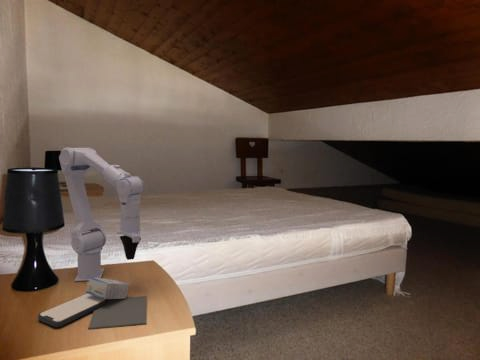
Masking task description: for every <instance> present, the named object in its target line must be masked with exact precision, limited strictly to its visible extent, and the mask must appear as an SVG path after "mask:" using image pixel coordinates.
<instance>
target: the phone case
mask: <svg viewBox="0 0 480 360" xmlns="http://www.w3.org/2000/svg"><path fill="white" fill-rule="evenodd" d="M106 304H107V299H104V298H100V297H97V296H94V295H91V294H87V293H85V294H82V295H80V296H78V297H75V298H73V299H71V300H68V301H65V302H63V303H61V304H58V305H56V306H54V307H51V308H49V309H46V310H45V311H43V312H40V313H38V315H37V320H38V321H40V322H42V323H45V324H47V325H49V326H52V327H54V328H59V327H62V326H64V325H66V324H68V323H70V322H73V321H74V320H76V319H79V318H81V317H83V316H85V315H87V314H90V313H91V312H93V311H94V310H95V309H98V308H100V307H102V306H104V305H106Z"/></svg>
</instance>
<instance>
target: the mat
mask: <svg viewBox="0 0 480 360" xmlns="http://www.w3.org/2000/svg"><path fill="white" fill-rule="evenodd" d="M147 302H148V301H147V295H143V296H142V295H141V296H140V295H139V296H127V297H126V298H125V299H107V304H106V305H104V306H102V307H100V308H98V309H95V310H93V311H92V315H91V318H90V321H89V324H88V327H87V329H88V330H99V329H107V328H121V327H132V326H133V327H134V326H144V325H147V307H148V306H147Z"/></svg>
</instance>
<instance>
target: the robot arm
mask: <svg viewBox="0 0 480 360" xmlns="http://www.w3.org/2000/svg"><path fill="white" fill-rule="evenodd" d="M58 160H59V164H60V168H61V172H62V174H63V175H64V180H65V183H66V189H67V191H68V195H69V196H68V197H69V199H70V202H71V207H72V213H73V215H74V219H75V223H76V226H75V227H74V228H73V229H72V231H71V232H70V236H71V248H72V250H73V251H74V252H75V253H76V254H77V274H76V276H75V278H74V282H86V281H87V282H89V279H90V278H100V279H102V276H103V274H104V271H105V268H102V265H101V264H102V263H101V262H102V261H101V260H102V259H101V258H102V257H101V255H102V253H101V251H102V250H103V247H104V246H105V245H106V242H107V236H106V233H105V232H104V231H103V229H102V225H101V224H100V223H98V222H96V221H94V217H93V213H92V209H91V206H90V202H89V197H88V195H87V189H86V186H85V181H84V178H83V177H84V175H85V174H86V173H88V171H89V170H90V169H91V168H92V169H94V170H96V171H97V172H98V173H100V174H102V178H103V180H104V181H106V182H107V183H109V184H110V185H111V186H112V187H113V188H115V189H116V193H117V195H118V200H119V202H120V229H117V230H116V234H117V235H120V236H119V239H120V240H121V243H122V246H123V251H124V255H125V256H124V257H125V258H126V260H134V259H135V256H136V252H137V248H138V246H139V244H140V242H141V240H142V237H141V225H140V224H141V195H142V194H143V192H144V191H145V182H144V180H143V179H142V177H140V175H139V176H138V175H135V176H133V175H131V173H129V172H128V171H127V172H126V171H125V170H124V169H122V168H121V166H120V165H119V164H109V163H108V162H107V161H106V160H105V159H103V158H102V157H101V156H100V155H98V152H97V150H95V149H93V148H92V147H88V146H86V147H64V148H62V150H61V151H60V154H59V156H58Z"/></svg>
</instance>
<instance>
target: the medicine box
mask: <svg viewBox="0 0 480 360" xmlns="http://www.w3.org/2000/svg"><path fill="white" fill-rule="evenodd" d="M129 287H130V283H128V282H125V281H121V280H117V279H113V278H101V279H100V278H90V279H89V281H87V286H86V291H85V294H91V295H94V296H97V297H100V298H104V299H125V298H126V297H128V293H129V292H128V291H129Z"/></svg>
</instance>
